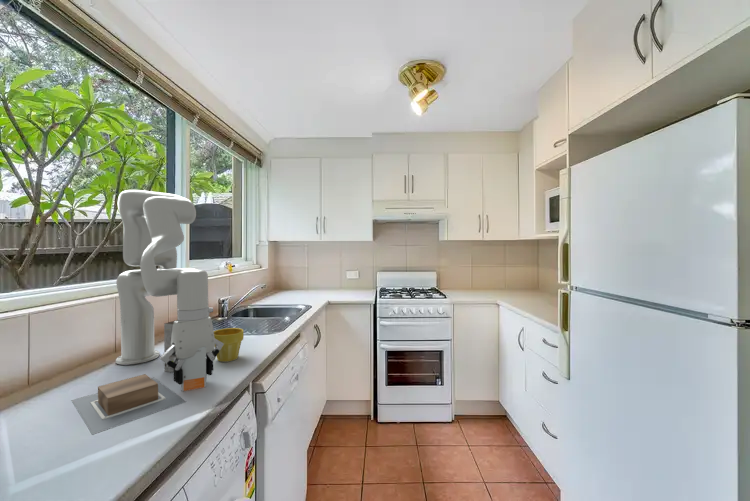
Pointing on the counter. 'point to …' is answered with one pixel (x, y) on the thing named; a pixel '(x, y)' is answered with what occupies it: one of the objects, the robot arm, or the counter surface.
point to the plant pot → (229, 343)
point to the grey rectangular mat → (101, 421)
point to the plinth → (127, 394)
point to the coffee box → (168, 343)
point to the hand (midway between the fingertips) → (194, 377)
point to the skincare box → (194, 371)
